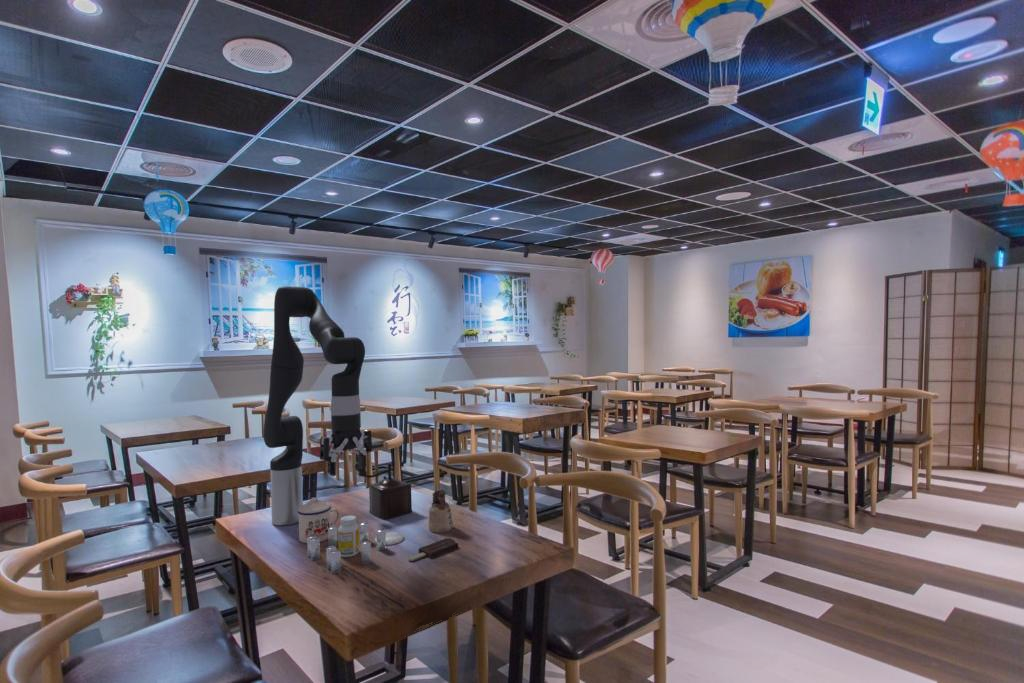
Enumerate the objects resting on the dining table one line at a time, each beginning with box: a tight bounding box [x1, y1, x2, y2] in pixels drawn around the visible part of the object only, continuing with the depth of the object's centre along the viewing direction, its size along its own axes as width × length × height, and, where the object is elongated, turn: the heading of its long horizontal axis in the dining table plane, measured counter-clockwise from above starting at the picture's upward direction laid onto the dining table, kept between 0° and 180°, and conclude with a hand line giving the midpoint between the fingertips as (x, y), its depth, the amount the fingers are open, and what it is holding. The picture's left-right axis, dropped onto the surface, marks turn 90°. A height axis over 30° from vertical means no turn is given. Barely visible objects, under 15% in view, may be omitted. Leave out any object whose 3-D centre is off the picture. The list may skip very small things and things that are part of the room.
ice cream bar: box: [408, 537, 459, 562], centre depth 142 cm, size 5×2×15 cm
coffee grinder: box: [353, 461, 413, 521], centre depth 173 cm, size 16×11×18 cm
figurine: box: [428, 488, 453, 534], centre depth 159 cm, size 7×7×12 cm
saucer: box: [374, 531, 404, 546], centre depth 151 cm, size 8×8×1 cm
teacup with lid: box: [298, 497, 341, 544], centre depth 155 cm, size 12×9×12 cm
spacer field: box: [306, 521, 387, 575], centre depth 142 cm, size 19×18×5 cm
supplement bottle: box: [337, 515, 360, 558], centre depth 142 cm, size 5×5×10 cm
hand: (347, 472), depth 142 cm, fingers open, 8 cm apart
